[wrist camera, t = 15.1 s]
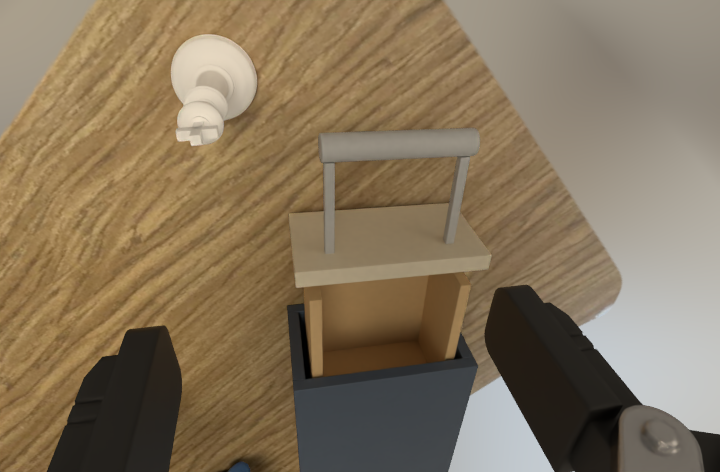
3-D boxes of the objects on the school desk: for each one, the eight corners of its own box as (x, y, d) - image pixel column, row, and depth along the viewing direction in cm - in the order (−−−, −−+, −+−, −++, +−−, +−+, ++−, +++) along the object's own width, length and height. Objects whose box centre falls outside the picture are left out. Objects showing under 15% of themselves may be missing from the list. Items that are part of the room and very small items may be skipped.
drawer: (281, 105, 27) (287, 149, 21) (471, 101, 29) (521, 139, 24) (297, 351, 40) (303, 419, 34) (429, 335, 42) (456, 396, 36)
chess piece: (262, 115, 28) (263, 187, 20) (182, 121, 27) (150, 198, 19) (250, 32, 25) (246, 76, 17) (161, 35, 25) (112, 83, 16)
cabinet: (287, 305, 37) (293, 391, 30) (439, 289, 40) (478, 366, 33) (295, 414, 46) (302, 501, 39) (419, 396, 49) (447, 475, 42)
